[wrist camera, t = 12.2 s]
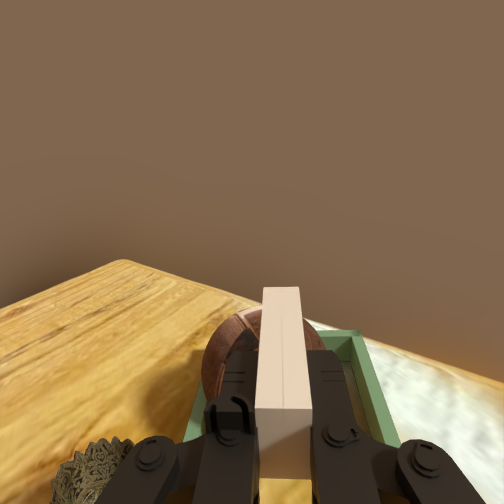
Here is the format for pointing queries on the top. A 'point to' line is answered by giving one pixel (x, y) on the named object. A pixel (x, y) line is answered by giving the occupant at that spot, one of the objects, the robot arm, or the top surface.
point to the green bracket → (373, 401)
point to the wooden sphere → (240, 345)
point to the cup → (89, 472)
